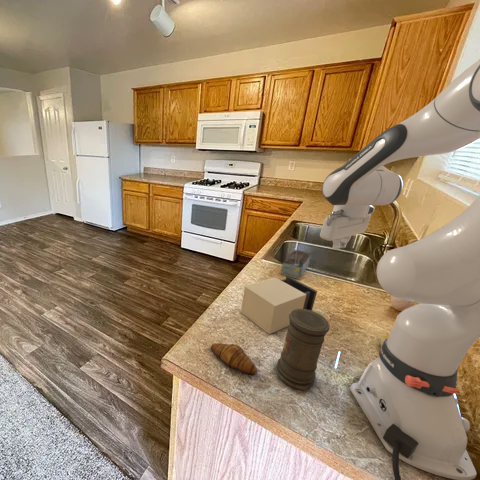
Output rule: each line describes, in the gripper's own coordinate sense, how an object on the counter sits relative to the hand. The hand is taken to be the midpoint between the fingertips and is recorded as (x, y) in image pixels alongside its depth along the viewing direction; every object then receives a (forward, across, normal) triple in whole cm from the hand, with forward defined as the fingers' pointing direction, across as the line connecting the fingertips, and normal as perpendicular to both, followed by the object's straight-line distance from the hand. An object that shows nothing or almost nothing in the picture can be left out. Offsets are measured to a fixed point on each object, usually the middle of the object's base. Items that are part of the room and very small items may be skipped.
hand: (338, 248), depth 90 cm
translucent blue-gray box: (+23, +16, +24) cm, 37 cm away
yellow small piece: (+23, -2, -24) cm, 33 cm away
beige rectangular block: (+23, -23, +4) cm, 33 cm away
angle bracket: (+22, -14, +4) cm, 27 cm away
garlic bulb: (+23, +23, -14) cm, 36 cm away
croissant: (+23, -48, -6) cm, 54 cm away
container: (+23, -37, -16) cm, 47 cm away
